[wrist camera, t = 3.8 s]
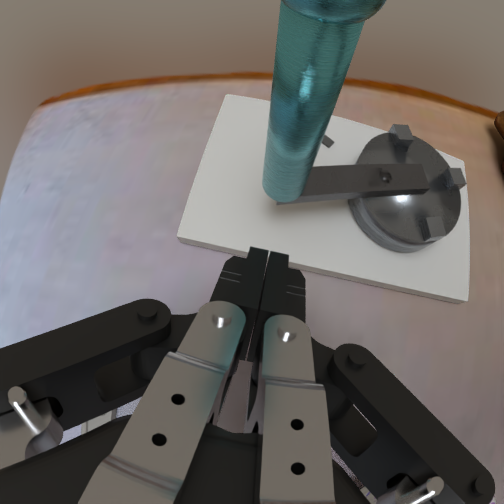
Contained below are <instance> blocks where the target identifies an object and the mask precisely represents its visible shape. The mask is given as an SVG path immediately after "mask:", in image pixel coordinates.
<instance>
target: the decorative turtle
mask: <svg viewBox="0 0 504 504" xmlns="http://www.w3.org/2000/svg"><path fill="white" fill-rule="evenodd" d="M494 124H495V127H496V129H497V130H498V132H499V133H500V135H501V136H502V138H503V139H504V111H502V112H500V113H499V114H498V115H497V117H496V119H495V121H494ZM502 172H503V174H504V161H503V163H502Z"/></svg>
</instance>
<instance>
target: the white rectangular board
mask: <svg viewBox="0 0 504 504" xmlns="http://www.w3.org/2000/svg"><path fill="white" fill-rule="evenodd" d="M269 111H270V101H266V100H261V99H255V98H249V97H243V96H237V95H230V94H226V96H225V99H224V101H223V104H222V106H221V109H220V111H219V114H218V117H217V119H216V122H215V124H214V127H213V130H212V132H211V135H210V138H209V141H208V143H207V146H206V149H205V152H204V154H203V157H202V160H201V163H200V166H199V168H198V171H197V174H196V177H195V180H194V183H193V186H192V189H191V192H190V195H189V198H188V201H187V204H186V207H185V210H184V213H183V217H182V220H181V223H180V226H179V229H178V233H177V238H178V239H179V241H180V242H181V243H186V244H190V245H194V246H199V247H203V248H208V249H212V250H216V251H221V252H225V253H230V254H234V255H238V256H243V257H247V255H248V252H249V249H250V246H252V247H256V248H261V249H265V250H269V252H268V258H267V262H268V259H269V254H270V251H275V252H279V253H284V254H288V255H289V264H288V267H292V268H296V269H301V270H305V271H310V272H314V273H319V274H323V275H328V276H332V277H337V278H341V279H346V280H350V281H355V282H359V283H364V284H368V285H373V286H378V287H382V288H387V289H391V290H396V291H400V292H405V293H410V294H414V295H419V296H424V297H428V298H433V299H437V300H442V301H447V302H451V303H456V304H460V303H464V302H468V294H469V273H470V228H469V208H468V195H467V184H466V185H465V186H464V187H463V188H461V189H460V194H461V211H460V216H459V219H458V221H457V223H456V225H455V227H454V228H453V230H452V231H451V232H450V233H449V234H447V236H445V237H443V238H442V239H440V240H438V241H436V242H434V243H433V244H431V245H429V246H427V247H426V248H424V249H422V250H419V251H416V252H410V253H402V252H396V251H392V250H390V249H387V248H385V247H383V246H381V245H379V244H378V243H376V242H375V241H374V240H372V239H371V238H370V237H369V236H368V235H367V234H366V233H365V232H364V231H363V230H362V228H361V227H360V226H359V224H358V223H357V221H356V220H355V218H354V216H353V214H352V212H351V209H350V206H349V203H348V199H341V200H329V201H317V202H305V203H294V204H284V205H276V201H275V200H273V199H272V198H270V197H269V196H268V195H267V194H266V193H265V191H264V189H263V186H262V177H263V168H264V158H265V149H266V139H267V130H268V120H269ZM383 133H387V131H384V130H381V129H378V128H375V127H371V126H368V125H365V124H362V123H358V122H355V121H351V120H348V119H344V118H341V117H337V116H333V115H332V116H331V119H330V121H329V124H328V127H327V130H326V132H325V135H324V138H323V140H322V143H321V146H320V148H319V151H318V154H317V156H316V159H315V162H314V164H313V167H315V166H333V165H354V164H355V162H356V161H357V159H358V157H359V156H360V154H361V152H362V150H363V149H364V147H365V145H366V144H367V143H368V142H369V141H370V140H371V139H372V138H374V137H376V136H378V135H380V134H383ZM435 150H436V149H435ZM436 151H438V150H436ZM438 152H439V153H440V155H441V156H442V157H443V158H444V159H445V160H446V162H447V163H448V165H449V166H450V168H461V170H462V173H463V175H464V178H465V181H466V175H465V166H464V161H462V160H460V159H457V158H455V157H453V156H450V155H448V154H446V153H443V152H441V151H438Z"/></svg>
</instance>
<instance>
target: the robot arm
mask: <svg viewBox="0 0 504 504" xmlns="http://www.w3.org/2000/svg"><path fill="white" fill-rule="evenodd" d="M268 252H269V250H265V249H261V248H256V247H252V246H250V249H249V252H248V255H247V259H246V258H242V257H237V256H233V257H231V258H230V259H229V260H227V261H226V262H225V264H224V267H223V269H222V272H221V274H220V277H219V279H218V282H217V284H216V286H215V289H214V291H213V294H212V296H211V299H210V301H209V303H206V304H205V305H203V306H202V307H201V308H200V310H199V312H197V313H194V314H189V315H171V311H170V309H169V308H168V307H167V306H166V305H165V304H164V303H162V302H160V301H158V300H154V299H140V300H136V301H133V302H131V303H128V304H125V305H122V306H119V307H117V308H114V309H111V310H108V311H105V312H103V313H100V314H97V315H94V316H91V317H89V318H86V319H83V320H80V321H77V322H75V323H72V324H69V325H66V326H63V327H60V328H58V329H55V330H52V331H49V332H46V333H43V334H41V335H38V336H35V337H32V338H29V339H26V340H23V341H21V342H18V343H15V344H12V345H9V346H6V347H3V348H1V349H0V504H371V503H370V502H369V501H368V499H367V498H366V497H365V496H364V494H363V493H362V492H361V491H360V489H359V488H358V487H357V486H356V484H355V483H354V482H353V481H352V479H351V478H350V477H349V476H348V474H347V473H346V472H345V471H344V469H343V468H342V467H341V466H340V465H339V464H338V463H337V462H335V461H334V460H333V459H332V455H331V447H332V448H333V449H334V450H335V452H336V453H337V454H338V455H339V456H340V458H341V459H342V460H343V461H344V462H345V464H346V465H347V466H348V467H349V468H350V469H351V471H352V472H353V473H354V474H355V475H356V476H357V478H358V479H359V480H360V481H361V482H362V483H363V485H364V486H365V487H366V488H367V489H368V490H369V491H370V493H371V494H372V495H373V496H374V497H375V498H376V499H377V502H376V504H489V503H490V502H491V501H492V499H493V497H494V493H495V483H494V479H493V477H492V475H491V474H490V472H489V471H488V470H487V469H486V468H485V467H484V466H483V465H482V464H481V463H480V462H479V461H478V460H477V459H476V458H475V457H474V456H473V455H472V454H471V453H470V452H469V451H468V450H467V449H466V448H465V447H464V446H463V445H462V444H461V443H460V442H459V440H458V439H457V438H456V437H455V436H454V435H453V434H452V433H451V432H450V431H449V430H448V429H447V428H446V427H445V426H444V425H443V424H442V423H441V422H440V421H439V420H438V419H437V418H436V417H435V416H434V415H433V414H432V413H431V412H430V411H429V410H428V409H427V408H426V407H425V406H424V405H423V404H422V403H421V402H420V401H419V400H418V399H417V398H416V397H415V396H414V395H413V394H412V393H411V392H410V391H409V390H408V389H407V388H406V387H405V386H404V385H403V384H402V383H401V382H400V381H399V380H398V379H397V378H396V377H395V376H394V375H393V374H392V373H391V372H390V371H389V370H388V369H387V368H386V367H385V366H384V365H383V364H382V363H381V362H380V361H379V360H378V359H377V358H376V357H375V356H374V355H373V354H372V353H371V352H370V351H369V350H367V349H366V348H364V347H362V346H360V345H356V344H343V345H341V346H339V347H338V348H337V349H336V350H333V349H331V348H329V347H326V346H324V345H322V344H320V343H318V342H317V341H316V340H314V339H313V338H312V337H311V334H310V330H309V328H308V327H307V325H306V324H305V278H304V276H303V275H302V273H301V271H300V270H296V269H292V268H288V264H289V255H288V254H284V253H279V252H275V251H270V254H269V259H268V263H267V258H268ZM266 263H267V267H266ZM265 268H266V271H265ZM264 274H265V276H264ZM263 279H264V280H263ZM254 322H255V323H254ZM253 326H254V328H253ZM252 330H253V333H252ZM251 334H252V338H251ZM250 338H251V343H250V348H249V353H248V357H247V361H249V362H253V366H252V371H251V374H250V378H249V382H248V393H247V404H246V415H245V425H244V432H243V433H231V432H228V431H226V430H224V429H222V428H220V427H217V423H218V420H219V417H220V414H221V411H222V408H223V405H224V402H225V399H226V397H227V394H228V391H229V388H230V385H231V382H232V379H233V375H234V373H235V372H236V370H237V367H238V363H239V359H240V360H244V361H245V358H246V354H247V350H248V346H249V342H250ZM140 397H142V398H141V400H140V402H139V403H138V405H137V407H136V409H135V411H134V412H133V414H131V415H126V416H122V417H119V418H116V419H113V420H111V421H109V422H107V423H105V424H103V425H101V426H99V427H97V428H95V429H93V430H91V431H89V432H86V433H84V434H82V435H80V436H78V437H76V438H74V439H71V440H69V441H67V442H65V443H63V444H60V442H61V440H62V438H63V431H65V430H68V429H70V428H73V427H75V426H78V425H80V424H82V423H85V422H87V421H89V420H92V419H94V418H96V417H98V416H101V415H103V414H105V413H107V412H110V411H112V410H114V409H116V408H118V407H121V406H123V405H125V404H127V403H129V402H131V401H134V400H136V399H138V398H140ZM353 404H354V405H355V406H356V407H357V408H358V409H359V410H360V412H361V413H362V414H363V415H364V416H365V417H366V418H367V419H368V420H369V422H370V423H371V424H372V425H373V426H374V427H375V429H376V430H375V429H374V428H373V427H372V426H371V425H370V424H369V422H368V421H367V420H366V419H365V418H364V417H363V416H362V415H361V414H360V412H359V411H358V410H357V409H356V408H355V407H354V406H353ZM59 444H60V445H59Z"/></svg>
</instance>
